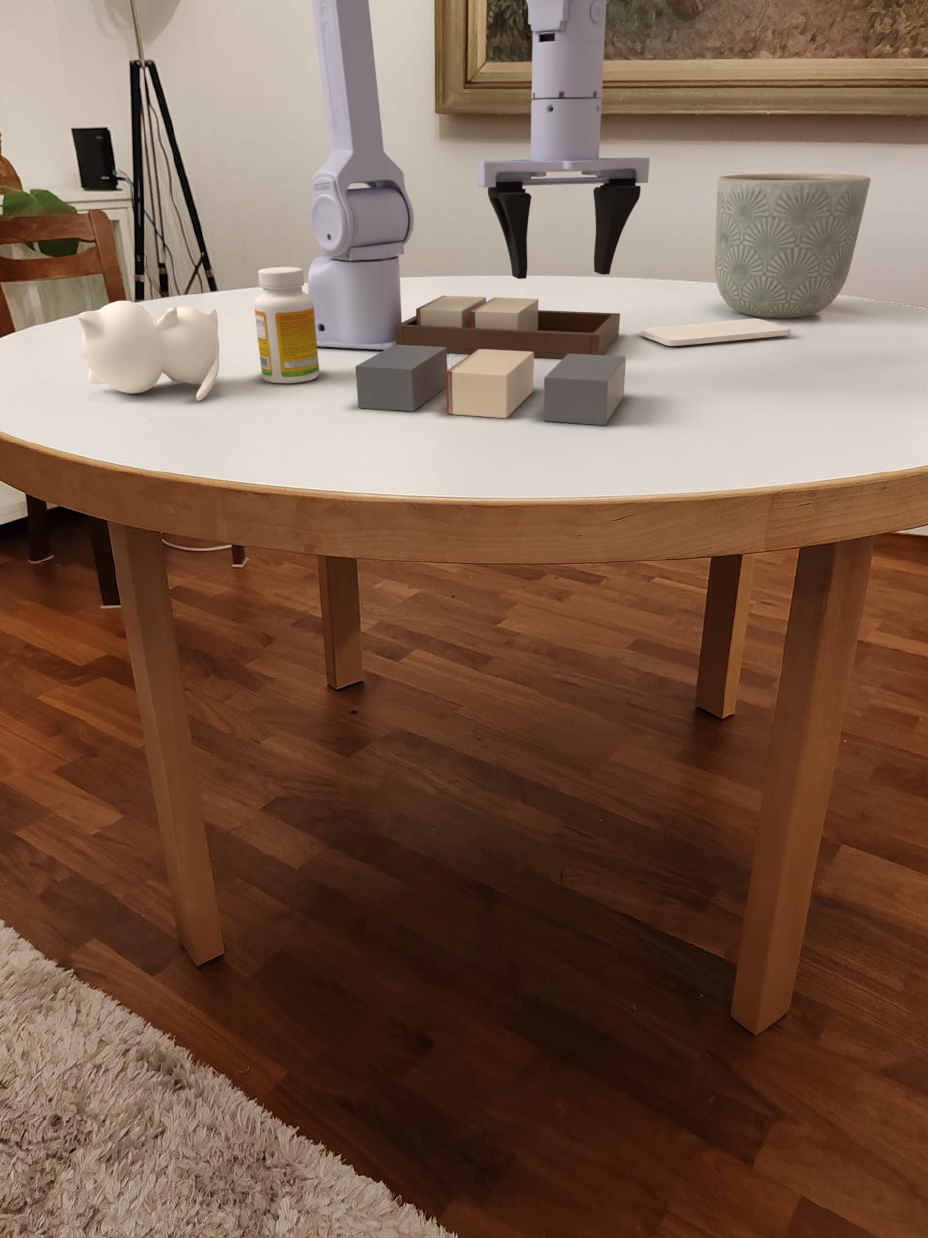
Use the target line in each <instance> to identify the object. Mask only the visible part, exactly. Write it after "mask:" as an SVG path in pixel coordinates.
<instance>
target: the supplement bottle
mask: <svg viewBox="0 0 928 1238" xmlns="http://www.w3.org/2000/svg"><path fill="white" fill-rule="evenodd" d="M257 272H258V273H257V274H258V284H259V287H260V288H261V289H262V293H261V294H259V295H257V296H256V298H255V299H254V302H253V303H254V304H253V306H254V316H255V324H256V325H255V326H256V335H257V343H258V352H259V361H260V369H261V376H262V378H263V380H265V381H266V382H268V383H273V384H297V383H304V382H310V381H313V380H314V379H316V378H318V377H319V374H320V364H319V362H320V361H319V354H318V352H319V351H318V346H317V339H316V328H315V316H314V305H313V300H312V298H311V296H310V295H308V292H304V291H303V286H304V285H305V278H304V270H303V268H302V267H295V266H280V267H279V266H278V267H267V268H261V269H259V270H258V271H257Z"/></svg>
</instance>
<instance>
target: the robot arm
mask: <svg viewBox="0 0 928 1238" xmlns="http://www.w3.org/2000/svg"><path fill="white" fill-rule="evenodd" d="M525 1H526V4H527V12H528V15H527V16H528V17H527V24H528V25H530V30H531V32H532V46H531V47H532V49H531V51H532V52H531V53H532V55H531V56H532V57H531V108H530V110H531V113H530V159H512V160H511V159H506V160H505V159H504V160H478V162H477V168H478V169H477V182H478V183H477V186H478V187H481V188H484V189H485V188H487V195H488V200H489V202H490V205H491V206H492V208H493V210H494V212H495V215H496V217H497V219H498V222H499V225H500V228H501V231H502V234H503V236H504V240H505V244H506V247H507V252H508V256H509V262H510V268H511V276H512V277H513V278H515V279H519V280H524V279H527V275H528V230H529V229H528V226H529V217H530V216H529V215H530V209H531V203H532V195H531V194H530V192H529V193H528V192H526V191H527V190H526V188H523V187H525V186H526V187H527V186H528V187H530V186H560V185H592V184H593V185H594V184H597V185H598V184H600V185H599V186H596V187H594V189H593V190H592V191H593V200H594V202H593V203H594V214H595V215H594V216H595V237H594V238H595V239H594V240H595V241H594V252H593V270H594V271H593V272H594V273H596V274H599V275H601V276H605V275H606V276H607V275H610V274H611V269H612V264H613V261H614V256H615V253H616V250H617V248H618V244H619V241H620V238H621V235H622V234H623V231H624V228H625V226H626V224H627V222H628V219H629V217H630V215H631V214H632V212H633V210H634V208H635V206H636V205H637V203H638V202H639V199H640V196H641V191H642V190H641V188H642V186H641V185H637V184H647V183H649V174H650V162H651V161H650V159H651V158H650V157H641V156H640V157H600V145H601V143H600V142H601V122H602V103H603V102H602V101H603V99H602V98H603V83H604V59H605V38H606V34H605V33H606V20H607V19H606V18H607V17H606V15H607V5H608V3H610V1H611V0H525ZM311 8H312V15H313V16H312V17H313V24H314V32H315V40H316V49H317V56H318V64H319V65H318V66H319V72H320V81H321V89H322V96H323V106H324V111H325V112H324V115H325V121H326V130H327V138H328V146H329V154H330V156H329V157H328V158H327V160H326V161H325V162H324V163H323V164H322V166H321V167H320V168H319V169H318V170H317V171H316V172H315V173H314V174H313V176H312V177H311V179H310V183H311V192H312V195H311V196H312V197H311V198H312V199H311V200H312V201H311V206H310V207H311V208H310V214H309V215H310V216H309V222H310V229H311V233H312V236H313V238H314V241H315V242H316V244H317V246H318V247H319V248H320V250H321V251H322V252H323V253H324V255H323V256H318V257H316V258H315V259H313V261H312V262H311V264H310V266H309V270H308V275H307V294H308V295H310V296H311V298H312V300H313V305H314V316H315V328H316V339H317V347H323V348H324V347H325V348H339V349H341V348H342V349H358V350H359V349H360V350H363V349H364V350H378V351H380V350H381V351H384V350H386V349H388V348H390V347H391V346H393V345H396V325H398V324H400V323H402V322H403V320H402V319H403V318H402V317H403V315H402V296H401V272H400V255H404V254H405V245H407V243H408V242H409V241H410V239H411V237H412V234H413V232H414V231H413V230H414V224H415V217H414V215H415V213H414V209H413V205H412V202H411V199H410V197H409V195H408V193H407V189H406V185H405V177H404V171H403V170H402V169H401V168H400V167H399V166H398V165H397V164H396V163H395V162H394V161H393V160H392V159H391V158H390V156H388V154H387V153H386V152H385V149H384V140H383V130H382V121H381V119H382V118H381V109H380V99H379V89H378V81H377V72H376V71H377V70H376V61H375V52H374V42H373V31H372V21H371V12H370V11H371V10H370V3H369V0H311ZM563 172H565V173H566V172H569V173H571V172H581V175H583V176H579V177H578V176H577V177H547V173H563ZM543 177H544V178H543ZM545 177H546V178H545ZM353 184H365V185H366V186H367V187H357V188H349V187H350V186H351V185H353Z"/></svg>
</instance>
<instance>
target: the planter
mask: <svg viewBox="0 0 928 1238" xmlns="http://www.w3.org/2000/svg"><path fill="white" fill-rule="evenodd" d="M871 181H872V179H871V177H870V176H867V175H859V174H841V173H840V174H839V173H748V174H729V175H722V176H719V177H718V178H717V187H716V188H717V191H716V215H715V217H716V218H715V220H716V221H715V250H714V275H715V281H716V286H717V289H718V292H719V295H720V296H721V297H722V299H723V301H724V302H725V303H726V305H727V306H729V307H730V308H731V309H733V310H734V311H736V312H738V313H741V314H743V315H747V316H753V317H757V318H758V317H759V318H768V319H770V318H772V319H794V318H802V317H809V316H812V315H815V314H817V313H819V312H821V311H822V310H825V309H826V308H827V307H828V306H829V305H831V303H833V302H834V301H835V300H836V298H837V297H838V296H839V294H840V293H841V290H842V289H843V287H844V285H845V283H846V281H847V278H848V276H849V273H850V269H851V265H852V261H853V257H854V253H855V249H856V244H857V240H858V237H859V236H858V235H859V231H860V227H861V224H862V223H861V222H862V218H863V215H864V210H865V207H866V202H867V198H868V193H869V189H870V185H871Z"/></svg>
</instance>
